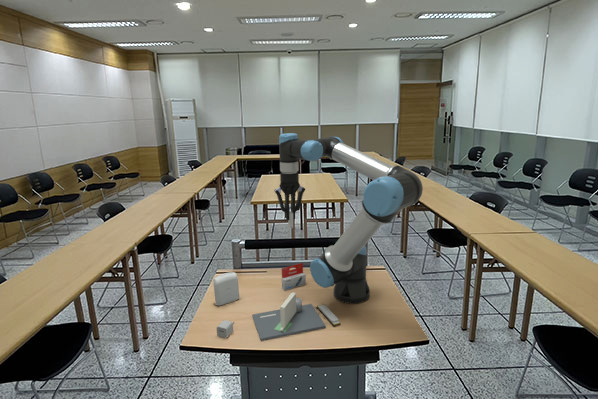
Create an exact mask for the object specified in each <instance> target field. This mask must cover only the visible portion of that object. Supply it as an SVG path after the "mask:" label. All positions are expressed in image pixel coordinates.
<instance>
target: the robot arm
mask: <svg viewBox="0 0 598 399" xmlns="http://www.w3.org/2000/svg"><path fill="white" fill-rule="evenodd" d="M278 146H279V147H278V148H279V149H278V150H279V152H278V153H279V171H280V173H279V179H280V184H279V187H278V188H276V189H275V188H274V191H273V192H275V194H276V196H277V200H278V203H279V206H280V210H281V212H283V213H285V220H286V221H287V223H288V224H287V226H288V228H289V229H293V228H294V221H295V220H296V213H297V212H298V211H300V209H301V204H302V200H303V195H304V193H305V191H306V188H305V187H303V186H301V184H300V180H299V177H300V174H299V160H303V161H308V162H311V161H312V162H317V161H319V160H320V159H321V158H326V157H327V158H329V159H331V160H333V161H335V162H337V163H339V164H341V165H344V166H345V167H346V168H349V169H351V170H353V171H355V172H357V173H358V174H360V175H362V176H365V177H367V178H368V179H370V180H372V181H370V182H369V183H368V184H367V185H366V187H365V188H364V191H363V192H362V193H363V194H362V196H363V199H362V200H361V207H362V208H361V209H360V210H359V211H358V213H357V214H356V215H355V217H354V218H353V220H352V221H351V222H350V224H349V225H348V226H347V228H346V229H345V230H344V232H343V233H342V234H341V236H340V237H339V238H338V240H337V241H336V242H335V244H334V245H333V244H332V245H329V246H328V247H326V249H325V250H324V251H323V253H322V254H321V255H320V256H319V257H316V258H314V259H313V260H312V261H311V262H310V265H309V271H310V275H311V277H312V279H313V281H314V282H315V283H316V284H317V285H318V286H319V287H321V288H323V289H327V288H330V287H333V286H334V287H333V296H334V299H336V300H337V301H340V302H342V303H346V304H362V303H365V302H366V301H367V300H369V298H370V297H371V296H370V294H371V293H370V292H371V291H370V287H369V284H368V281H367V260H368V259H367V256H368V253H367V252H368V250H367V247H366V244H367V243H368V242H369V241H370V240H371V239H372V237H373V236H374V235H375V234H376V232H378V230H379V229H380V228H381V227H382V225H383V224H384V225H385V224H390V223H391V222H392V221H393V220H394V219H395V218H396V216H397V215H398V214H399V213H400V211H402V210H403V209H406V208H408V207H411V206H413V205H415V204H416V203H418V201H420V199H421V197H422V194H423V190H424V188H423V183H422V181H421V179H420V178H419V176H418V175H417V174H416V173H414V172H413V171H411V170H409V169H407V168H405V167H402V166H401V165H398V164H397V165H394V166H393V165H391V164H389V163H386V162H385V161H382V160H381V159H378V158H376V157H374V156H371V155H369V154H367V153H365V152H362V151H360V150H358V149H356V148H354V147H351V146H349V145H347V144H345V143H344V141H343V140H342V139H341V138H340V137H338V136H328V137H322V138H314V139H313V138H312V139H299V135H298V134H297V133H294V132H288V133H281V134H280V135H279V137H278ZM282 192H283V193H284V199H283V196H282V194H281V193H282ZM296 193H298V194H296ZM296 197H297V198H296ZM290 204H291V205H290Z"/></svg>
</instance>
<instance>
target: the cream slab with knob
mask: <svg viewBox="0 0 598 399" xmlns="http://www.w3.org/2000/svg"><path fill="white" fill-rule="evenodd" d="M302 305H303V299H302V298H301V297H297V293H296V292H291V293H290V294H289V296H288V297H287V298H286V299H285V301H284V302H283V303H282V304H281V306H280V307H279V309H280V315H281V327H282V328H281V329H280V331H283V330H284V328H285V327H286V326H287V324H288V323H289V321H290V320H291V319H292V317H293V316H294V314H295V313H296V312H300V311H302Z"/></svg>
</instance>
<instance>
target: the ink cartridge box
mask: <svg viewBox="0 0 598 399" xmlns="http://www.w3.org/2000/svg"><path fill="white" fill-rule="evenodd" d="M303 265H304V264H303V262H301V263H298V264H293V265H289V266H286V267H282V268H281V289H282V291H288V290H291V289H295V288H298V286H299V287H301V286H305V285H306V283H307V282H306V281H307V280H306V277H307V276H306V273H304V266H303ZM292 268H294V269H292Z"/></svg>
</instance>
